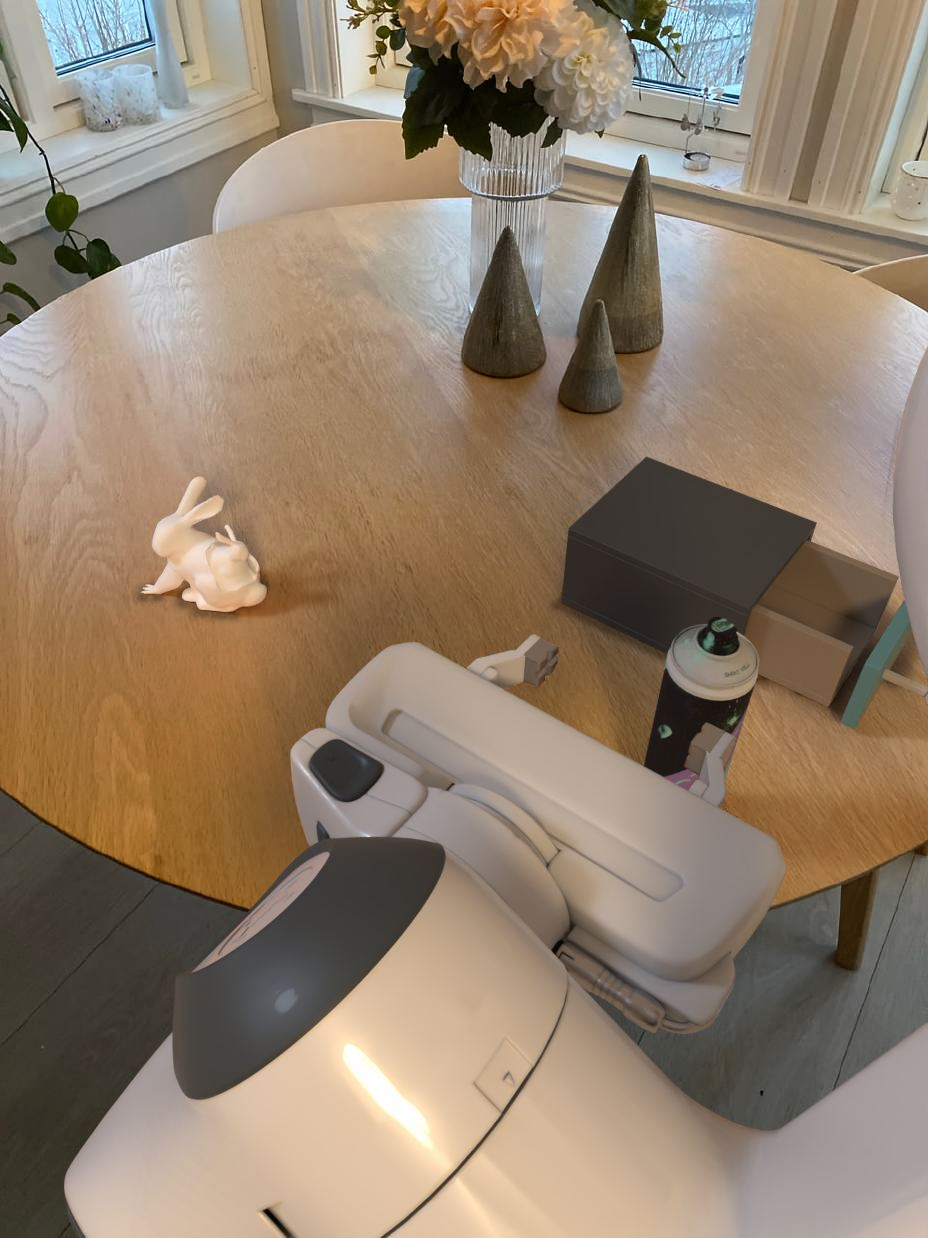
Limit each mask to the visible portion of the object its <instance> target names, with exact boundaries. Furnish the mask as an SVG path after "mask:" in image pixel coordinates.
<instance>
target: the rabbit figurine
mask: <svg viewBox="0 0 928 1238" xmlns="http://www.w3.org/2000/svg"><path fill="white" fill-rule="evenodd" d="M207 484H208V482H207V480H206V479H205V477H204V476H195V477H194V478H192V479H191V481H190V482H189V484H188V486H187V488H186V490H185V493H184V494H183V496H182V498H181V501H180V503H179V505H178V506H177V507H178V508H177V509H176V511H175V512H174V513H172V514H170V515H167V516H165V517H163V518H162V519H161V520H160V521H158V523H157V524H156V527H155V529H154V531H153V536H152V540H151V547H152V550H153V552H154V553H155V554H157V556H158V557H160V558H166V559H167V560H166V561H167V564H166V566H165V567H164V570H163V571H162V572H161V574H160V575H159V577H158V578H157V580H156V581H155V583H154V584H150V583H148V584H145V585H144V586H145V587H142V589H143V590H142V591H140V594H141V593H142V594H144V595H152V594H153V595H161V594H165V593H167V592H171V591H173V590H175V589H177V588H179V587H180V586H181V585H182V584H183V582H184V581H186V582H187V583H188V585H189V586H190V587H187V588H185V589H183V591H182V593H181V598H182V600H183V601H185V602H194V603H196V607H197V608H198V609H199V610H200V611H201V610H202V611H211V612H212V611H213V612H222V613H230V612H231V613H232V612H234V611H236V610H238V609H240V608H244V607H246V608H250V607H253V606H256V605H259V604H261V603H262V602H263V601H264V600H265V599H266V596H267V594H268V587H267V586H266V585H265V584H263V583H261V573H260V564H259V562H258V561H257V559H256V558H255V557H254V555H253V554H252V553H251V552H249V549H248V546H247V545H246V544H245V543H244V541H240V540H238V539H237V537H236V535H235V533H234V531H233V529H232V528H231V527H230V525H229V524H225V525H224V530H226V532H227V535H228V537H227V536H225V535H223V534H221V533H220V532H218V531H216V532H215V536H214V535H211V534H208V533H207V532H204V531H201V530H197V529H196V528H195V527H194V525H195V524H198V523H200V522H202V521H204V520H208V519H210V518H212V517H215V516H216V515H217V514H219V513H220V512H221V511H222V510H223V508H224V504H225V500H224V499H223V497H222V496H221V495H219V494H216V495H213V496H211V497H209V498H208V499H207V500H204V501H202V502H201V503H198V501H199V499H200V498H201V496H202V495H203V493H204V492H205V490H206V488H207ZM197 503H198V504H197Z"/></svg>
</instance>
